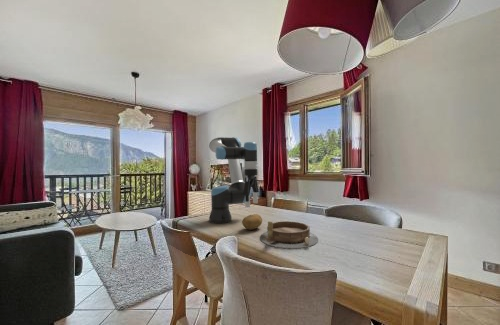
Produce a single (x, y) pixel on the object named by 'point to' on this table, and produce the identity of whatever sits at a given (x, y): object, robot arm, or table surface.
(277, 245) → the base
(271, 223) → the brown round shallow piece
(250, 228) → the potato
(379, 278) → the table surface
